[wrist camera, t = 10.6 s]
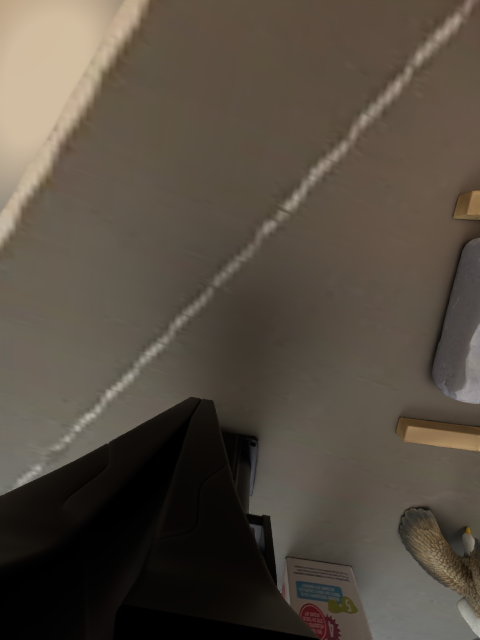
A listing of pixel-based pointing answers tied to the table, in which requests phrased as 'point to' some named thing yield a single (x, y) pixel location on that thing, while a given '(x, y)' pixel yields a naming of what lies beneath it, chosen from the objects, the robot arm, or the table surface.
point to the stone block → (461, 332)
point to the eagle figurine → (445, 560)
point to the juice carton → (326, 599)
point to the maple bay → (438, 433)
